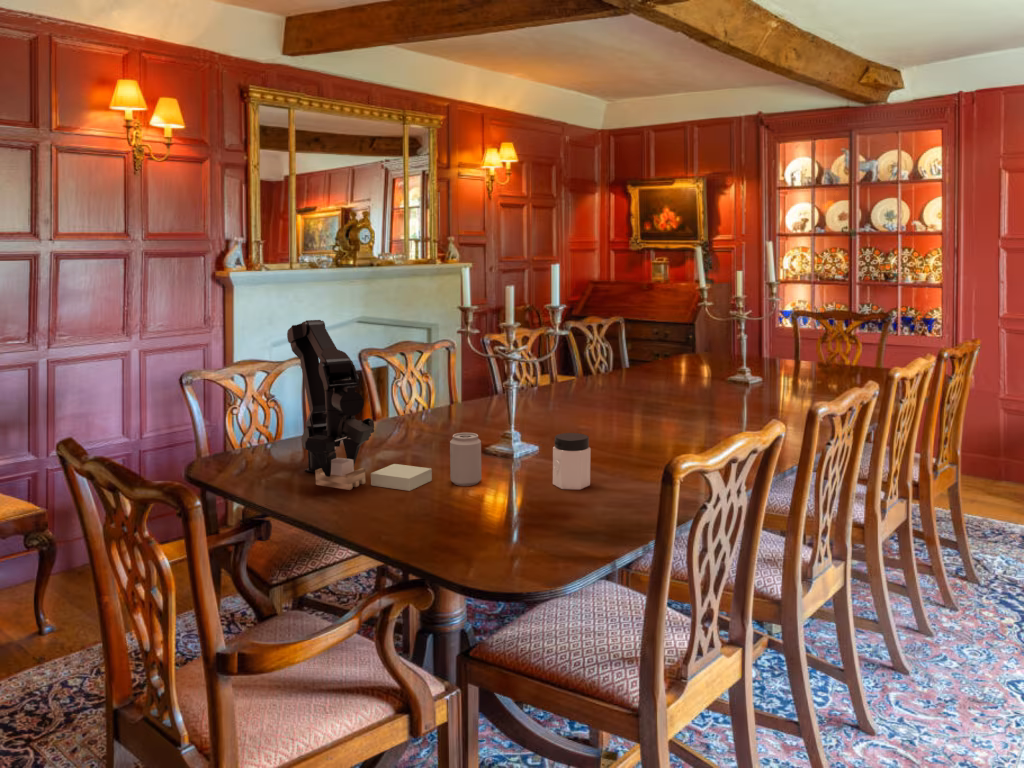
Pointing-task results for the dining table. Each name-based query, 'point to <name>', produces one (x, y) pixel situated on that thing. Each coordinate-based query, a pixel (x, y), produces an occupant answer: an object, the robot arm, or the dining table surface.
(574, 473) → the jar
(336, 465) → the pale pink square block
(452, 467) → the can
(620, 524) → the dining table surface
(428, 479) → the dock
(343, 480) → the castle tower
